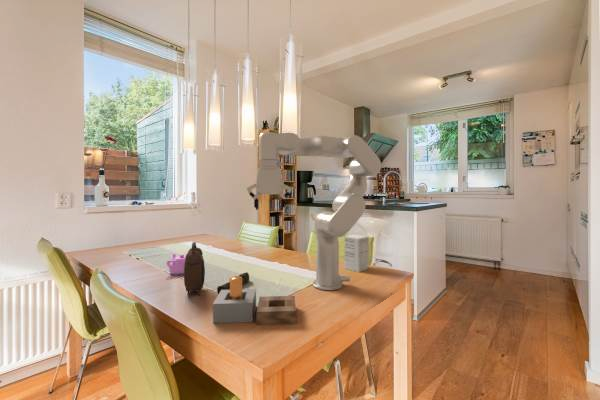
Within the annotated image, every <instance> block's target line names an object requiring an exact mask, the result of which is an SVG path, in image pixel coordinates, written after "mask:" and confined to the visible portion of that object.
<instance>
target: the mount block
mask: <svg viewBox="0 0 600 400" xmlns="http://www.w3.org/2000/svg"><path fill="white" fill-rule="evenodd" d="M295 297H296V296H295V295H275V296H272V295H271V296H268V295H267V296H259V298H258V304H257V308H256V325H257V326H261V325H262V326H263V325H264V326H265V325H290V324H291V325H293V324H295V325H296V324H297V309H296V308H297V307H296V299H295Z"/></svg>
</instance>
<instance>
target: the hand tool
mask: <svg viewBox="0 0 600 400" xmlns="http://www.w3.org/2000/svg"><path fill="white" fill-rule="evenodd" d="M238 276H241V277H242V286H246V284H248V283H249V282H250V273H248V271H247V272H243V273H240V274H239V275H238ZM216 289H217V291H216V293H217V294H218V295H219V293H220V291H221V290H230V281H229V282H226V283H224V284H222V285H218V286H217V288H216ZM218 295H217V296H218Z"/></svg>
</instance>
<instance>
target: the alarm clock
mask: <svg viewBox="0 0 600 400" xmlns="http://www.w3.org/2000/svg"><path fill="white" fill-rule="evenodd" d="M185 256H186V257H185V264H184V275H183V284H184V287H185V291H186V292H187V296H190V292H197V296H200V293H201V292H200V291H202V289H203V288H204V284H205V276H206V269H205V259H204V256H203V250H202V249H201V248H199V247H197V242H196V241H192V244H191V248H189V250H187V253H186V255H185Z"/></svg>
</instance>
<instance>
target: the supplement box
mask: <svg viewBox="0 0 600 400" xmlns="http://www.w3.org/2000/svg"><path fill="white" fill-rule="evenodd" d="M343 243H344V247H343V250H344V251H343V252H344V255H343V256H344V257H343V263H344V264H343V265H344V268H343V269H345V270H347V271H348V270H349V271H353V272H356V273H360V272H363V271H366V270H369V268H370V236H367V235H361V234H350V235H347V236H345V235H344V236H343Z"/></svg>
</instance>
